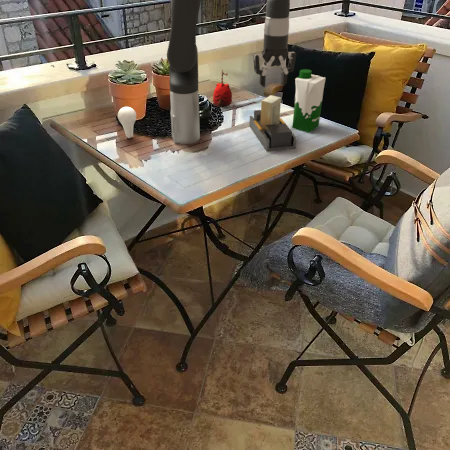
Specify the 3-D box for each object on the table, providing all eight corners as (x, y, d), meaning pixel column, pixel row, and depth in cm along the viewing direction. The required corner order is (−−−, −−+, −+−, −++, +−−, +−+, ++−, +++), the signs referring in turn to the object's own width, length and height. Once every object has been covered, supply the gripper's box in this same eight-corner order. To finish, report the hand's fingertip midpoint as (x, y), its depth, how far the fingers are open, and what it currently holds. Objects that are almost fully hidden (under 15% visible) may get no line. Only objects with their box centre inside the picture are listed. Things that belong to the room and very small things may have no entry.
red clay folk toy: (232, 102, 191) (233, 65, 183) (230, 109, 186) (231, 70, 177) (214, 102, 192) (213, 64, 184) (211, 108, 186) (211, 70, 178)
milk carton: (300, 120, 176) (306, 66, 165) (322, 126, 172) (329, 71, 160) (288, 128, 171) (293, 72, 159) (310, 134, 166) (317, 77, 155)
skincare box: (268, 128, 168) (270, 94, 161) (279, 131, 166) (281, 97, 159) (259, 134, 164) (260, 99, 157) (269, 137, 162) (272, 102, 155)
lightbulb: (142, 136, 165) (138, 105, 158) (132, 142, 160) (128, 111, 154) (127, 133, 167) (123, 102, 160) (117, 139, 162) (112, 108, 156)
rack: (266, 151, 155) (267, 134, 152) (249, 126, 172) (249, 110, 168) (295, 148, 157) (297, 131, 154) (275, 124, 174) (276, 108, 170)
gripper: (257, 36, 142) (255, 91, 151) (302, 33, 144) (297, 87, 154) (250, 30, 148) (248, 83, 157) (294, 28, 150) (290, 80, 160)
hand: (273, 85), depth 155 cm, fingers open, 6 cm apart
